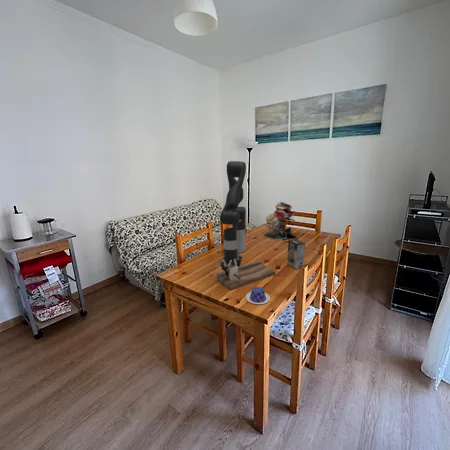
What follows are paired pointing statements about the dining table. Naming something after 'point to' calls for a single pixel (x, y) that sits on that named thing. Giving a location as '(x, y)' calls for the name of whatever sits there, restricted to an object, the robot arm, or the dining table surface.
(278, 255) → the dining table surface
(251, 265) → the walnut board
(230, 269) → the block
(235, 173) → the robot arm
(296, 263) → the coffee box
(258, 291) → the pudding
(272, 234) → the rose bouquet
